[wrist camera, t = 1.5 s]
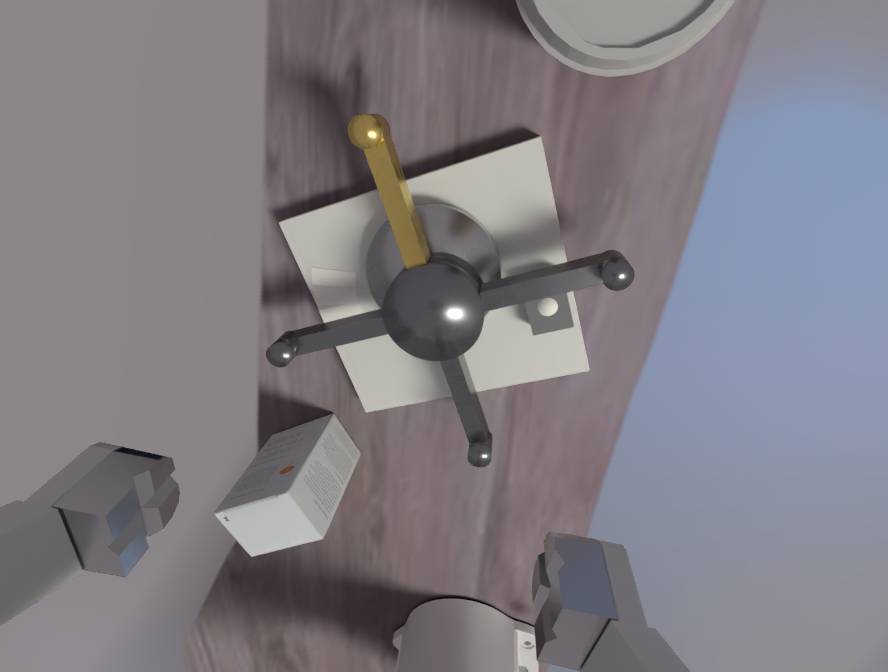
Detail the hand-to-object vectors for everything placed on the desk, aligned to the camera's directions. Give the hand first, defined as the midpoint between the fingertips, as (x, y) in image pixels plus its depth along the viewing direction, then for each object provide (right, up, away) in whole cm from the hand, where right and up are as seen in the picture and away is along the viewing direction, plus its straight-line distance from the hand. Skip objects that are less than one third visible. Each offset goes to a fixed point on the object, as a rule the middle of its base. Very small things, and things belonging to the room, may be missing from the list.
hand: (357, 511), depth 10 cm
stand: (+2, +7, +27) cm, 28 cm away
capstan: (+2, +7, +25) cm, 26 cm away
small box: (-11, -7, +36) cm, 39 cm away
